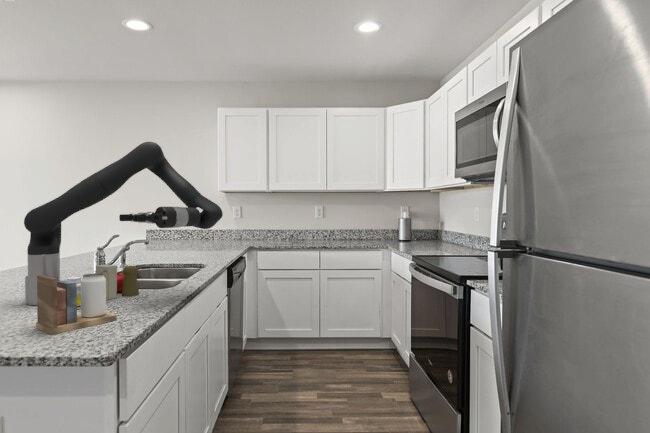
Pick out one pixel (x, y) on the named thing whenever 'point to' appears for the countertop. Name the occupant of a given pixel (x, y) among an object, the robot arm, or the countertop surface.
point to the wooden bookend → (61, 307)
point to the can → (93, 295)
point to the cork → (130, 281)
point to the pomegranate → (120, 282)
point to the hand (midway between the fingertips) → (126, 218)
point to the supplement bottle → (78, 281)
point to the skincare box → (109, 279)
